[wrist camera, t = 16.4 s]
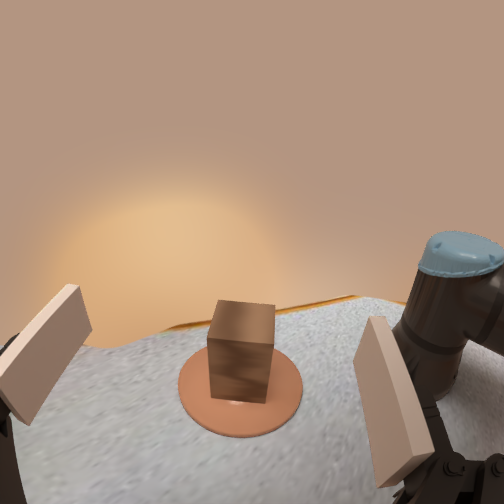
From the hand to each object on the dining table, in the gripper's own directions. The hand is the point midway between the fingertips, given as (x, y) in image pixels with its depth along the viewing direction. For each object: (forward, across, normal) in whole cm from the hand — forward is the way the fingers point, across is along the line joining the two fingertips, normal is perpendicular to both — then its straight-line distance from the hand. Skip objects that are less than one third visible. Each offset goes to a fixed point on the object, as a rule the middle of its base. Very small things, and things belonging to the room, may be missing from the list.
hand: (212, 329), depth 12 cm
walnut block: (+17, 0, -24) cm, 29 cm away
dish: (+17, 0, -25) cm, 30 cm away
